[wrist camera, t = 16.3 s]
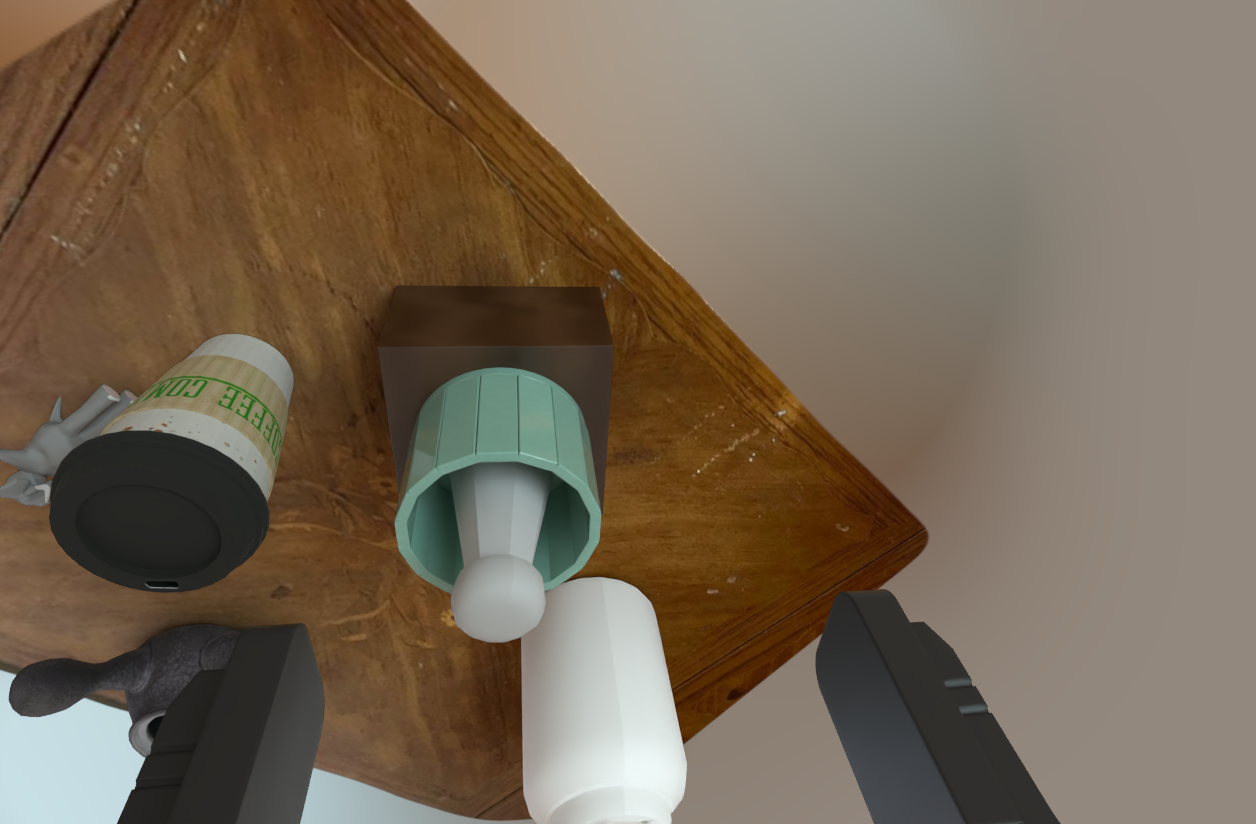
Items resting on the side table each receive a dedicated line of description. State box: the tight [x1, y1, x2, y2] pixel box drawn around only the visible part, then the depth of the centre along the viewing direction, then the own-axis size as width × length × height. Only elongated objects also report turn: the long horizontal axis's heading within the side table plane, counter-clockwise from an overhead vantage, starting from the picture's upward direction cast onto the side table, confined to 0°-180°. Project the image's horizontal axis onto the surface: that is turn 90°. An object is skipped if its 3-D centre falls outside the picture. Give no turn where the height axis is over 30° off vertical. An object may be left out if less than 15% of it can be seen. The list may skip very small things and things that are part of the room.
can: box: [521, 577, 687, 824], centre depth 58 cm, size 12×12×20 cm
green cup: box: [394, 367, 601, 594], centre depth 40 cm, size 10×10×8 cm
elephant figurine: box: [0, 384, 137, 506], centre depth 45 cm, size 10×6×9 cm
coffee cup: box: [49, 334, 294, 593], centre depth 41 cm, size 10×10×15 cm
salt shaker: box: [449, 461, 553, 642], centre depth 37 cm, size 6×6×13 cm
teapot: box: [9, 624, 242, 758], centre depth 56 cm, size 19×15×10 cm
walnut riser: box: [377, 286, 614, 514], centre depth 46 cm, size 13×13×8 cm
